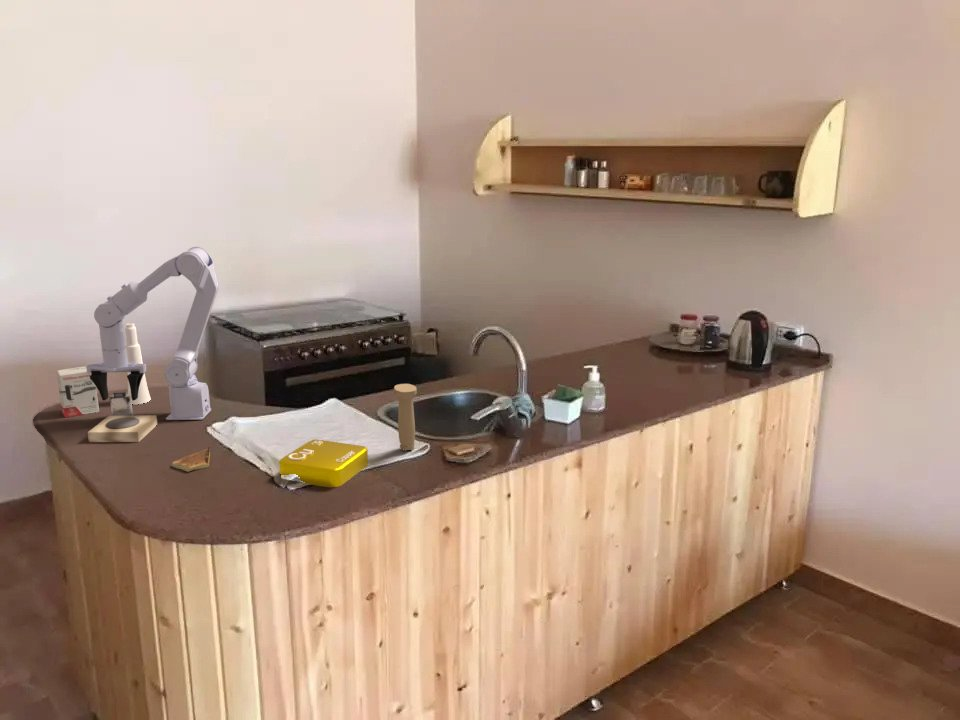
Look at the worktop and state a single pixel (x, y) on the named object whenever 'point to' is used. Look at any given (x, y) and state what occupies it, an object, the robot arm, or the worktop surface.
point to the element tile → (325, 462)
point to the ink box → (77, 392)
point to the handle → (406, 415)
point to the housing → (121, 404)
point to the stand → (122, 428)
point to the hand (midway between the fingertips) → (120, 399)
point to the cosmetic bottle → (136, 357)
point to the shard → (193, 461)
